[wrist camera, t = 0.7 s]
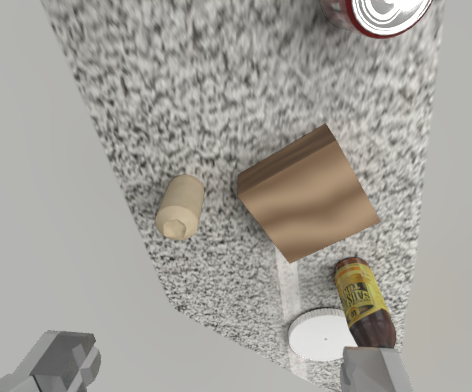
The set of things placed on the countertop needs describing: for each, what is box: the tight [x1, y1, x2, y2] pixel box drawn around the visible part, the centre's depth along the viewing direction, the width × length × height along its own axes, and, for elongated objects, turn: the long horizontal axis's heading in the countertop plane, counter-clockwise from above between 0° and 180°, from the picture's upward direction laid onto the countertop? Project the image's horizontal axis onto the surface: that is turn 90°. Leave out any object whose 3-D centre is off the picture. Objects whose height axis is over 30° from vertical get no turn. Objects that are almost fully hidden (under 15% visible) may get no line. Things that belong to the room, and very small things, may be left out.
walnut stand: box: [237, 124, 381, 263], centre depth 47 cm, size 14×14×6 cm
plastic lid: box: [288, 308, 358, 361], centre depth 65 cm, size 14×14×2 cm
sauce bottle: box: [334, 257, 396, 349], centre depth 49 cm, size 7×6×20 cm
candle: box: [155, 175, 204, 240], centre depth 46 cm, size 6×6×10 cm
